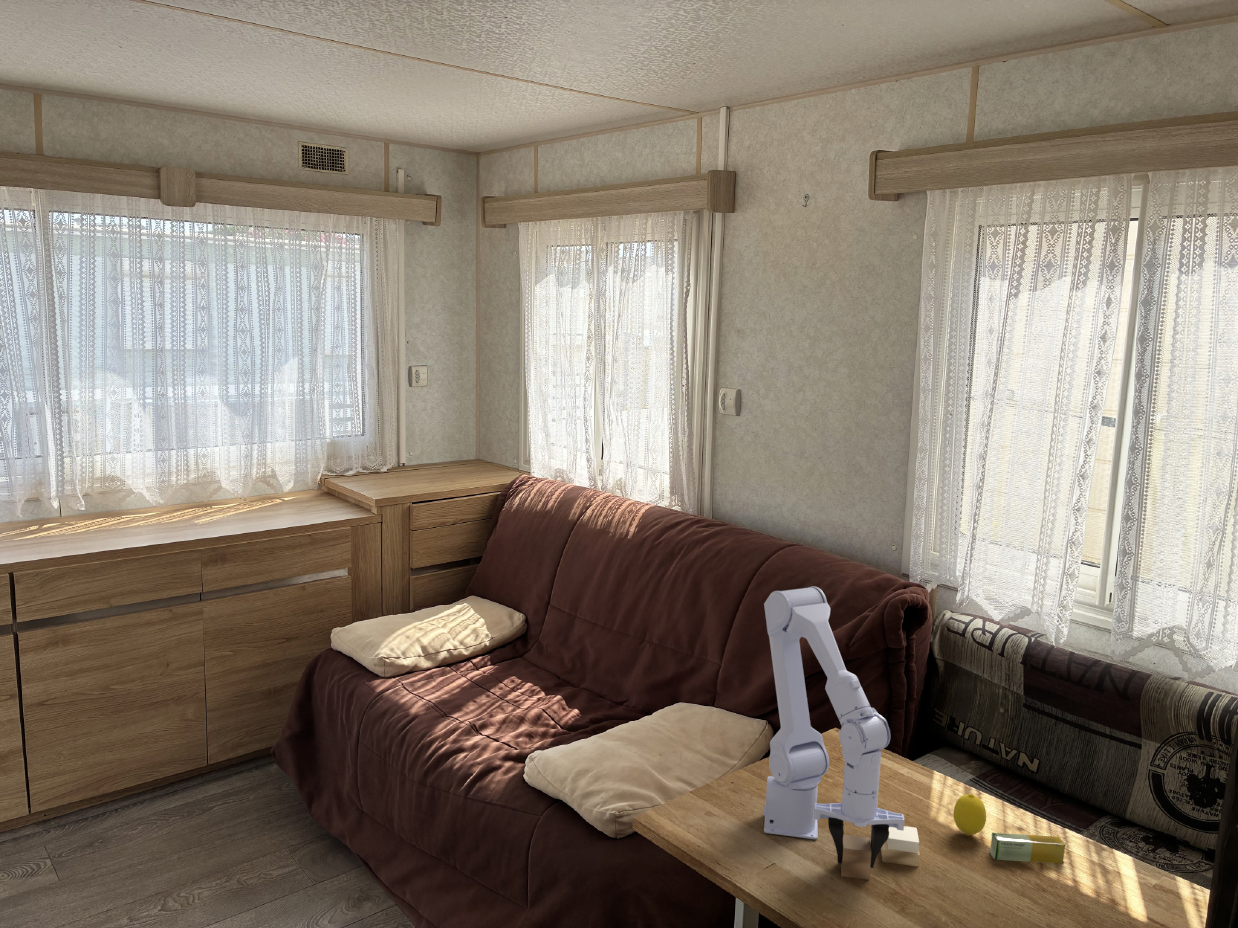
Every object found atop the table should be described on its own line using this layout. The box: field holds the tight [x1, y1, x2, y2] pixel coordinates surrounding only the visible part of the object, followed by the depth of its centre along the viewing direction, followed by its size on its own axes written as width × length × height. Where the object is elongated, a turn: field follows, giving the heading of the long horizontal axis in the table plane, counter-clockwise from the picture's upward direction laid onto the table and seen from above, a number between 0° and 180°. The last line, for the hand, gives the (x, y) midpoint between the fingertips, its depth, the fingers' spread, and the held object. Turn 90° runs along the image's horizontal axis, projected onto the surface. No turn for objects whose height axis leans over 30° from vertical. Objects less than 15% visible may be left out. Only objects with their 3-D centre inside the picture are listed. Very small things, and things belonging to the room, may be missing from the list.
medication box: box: [989, 832, 1067, 864], centre depth 162 cm, size 12×3×4 cm, turn 88°
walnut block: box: [840, 833, 871, 881], centre depth 156 cm, size 4×4×5 cm
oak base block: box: [880, 841, 921, 867], centre depth 161 cm, size 6×6×2 cm
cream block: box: [887, 825, 920, 853], centre depth 161 cm, size 5×5×2 cm
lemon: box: [953, 793, 987, 837], centre depth 168 cm, size 6×6×8 cm
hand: (855, 862), depth 156 cm, fingers closed on walnut block, 4 cm apart
